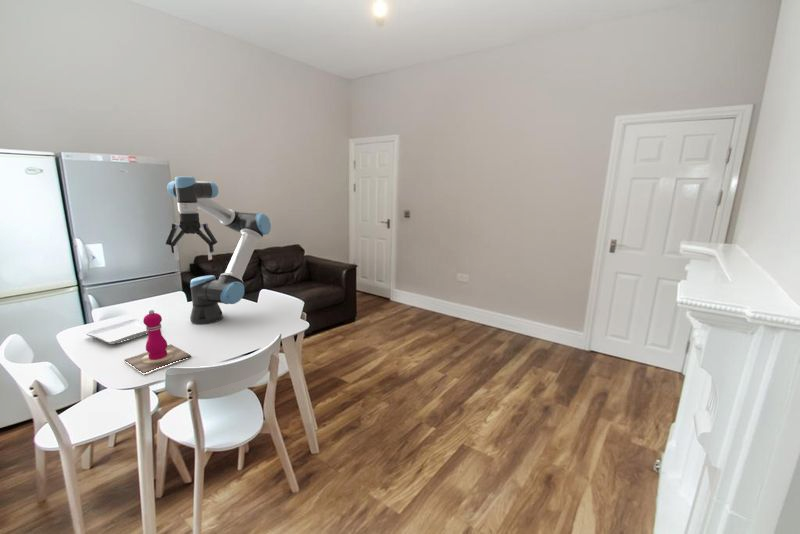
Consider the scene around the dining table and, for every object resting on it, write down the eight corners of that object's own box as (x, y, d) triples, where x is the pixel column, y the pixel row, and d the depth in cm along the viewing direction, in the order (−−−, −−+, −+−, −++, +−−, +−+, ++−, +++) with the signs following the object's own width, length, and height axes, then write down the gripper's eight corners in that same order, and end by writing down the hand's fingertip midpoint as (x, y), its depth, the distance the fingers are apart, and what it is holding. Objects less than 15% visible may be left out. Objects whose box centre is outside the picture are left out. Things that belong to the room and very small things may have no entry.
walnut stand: (124, 362, 139) (124, 358, 139) (171, 346, 153) (170, 343, 153) (143, 375, 130) (143, 371, 130) (191, 357, 144) (190, 354, 144)
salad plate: (136, 323, 177) (135, 317, 177) (161, 332, 168) (160, 325, 168) (85, 339, 159) (83, 332, 158) (110, 349, 150) (109, 342, 149)
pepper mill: (152, 362, 136) (145, 314, 132) (143, 357, 140) (136, 310, 135) (172, 355, 142) (165, 309, 138) (163, 350, 146) (156, 305, 141)
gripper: (152, 212, 146) (159, 262, 151) (216, 213, 151) (221, 260, 156) (160, 211, 153) (166, 258, 158) (221, 212, 159) (225, 257, 163)
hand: (194, 259), depth 157 cm, fingers open, 13 cm apart
